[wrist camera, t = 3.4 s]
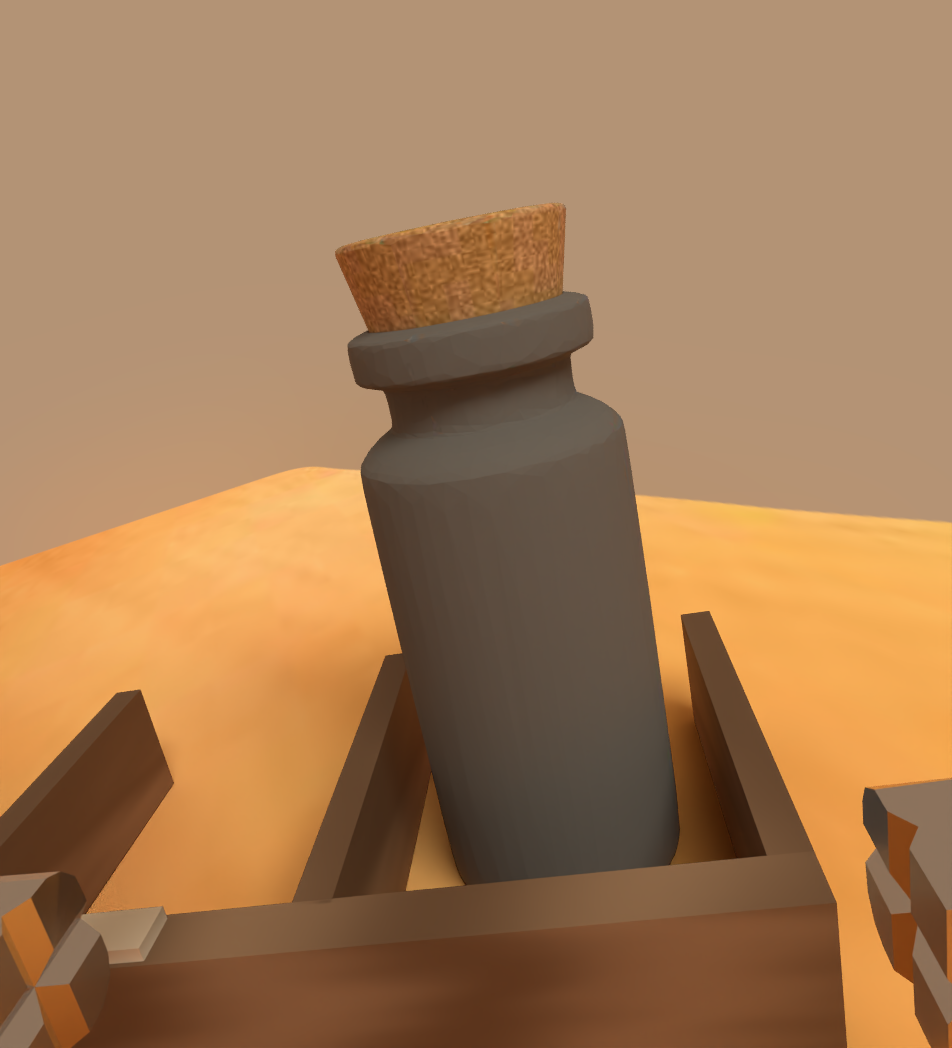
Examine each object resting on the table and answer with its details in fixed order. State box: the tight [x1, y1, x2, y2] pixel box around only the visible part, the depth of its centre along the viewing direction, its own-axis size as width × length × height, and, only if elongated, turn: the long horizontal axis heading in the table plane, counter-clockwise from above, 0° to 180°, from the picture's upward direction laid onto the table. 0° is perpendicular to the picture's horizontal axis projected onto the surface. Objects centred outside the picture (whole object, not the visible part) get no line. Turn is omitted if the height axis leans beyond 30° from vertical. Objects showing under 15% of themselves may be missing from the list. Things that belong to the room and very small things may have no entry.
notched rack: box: [0, 611, 847, 1048], centre depth 21 cm, size 27×11×4 cm, turn 86°
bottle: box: [335, 203, 680, 885], centre depth 19 cm, size 6×6×15 cm
